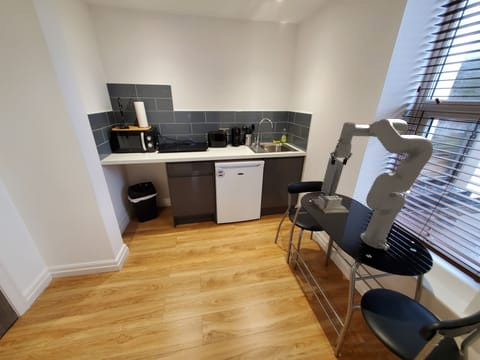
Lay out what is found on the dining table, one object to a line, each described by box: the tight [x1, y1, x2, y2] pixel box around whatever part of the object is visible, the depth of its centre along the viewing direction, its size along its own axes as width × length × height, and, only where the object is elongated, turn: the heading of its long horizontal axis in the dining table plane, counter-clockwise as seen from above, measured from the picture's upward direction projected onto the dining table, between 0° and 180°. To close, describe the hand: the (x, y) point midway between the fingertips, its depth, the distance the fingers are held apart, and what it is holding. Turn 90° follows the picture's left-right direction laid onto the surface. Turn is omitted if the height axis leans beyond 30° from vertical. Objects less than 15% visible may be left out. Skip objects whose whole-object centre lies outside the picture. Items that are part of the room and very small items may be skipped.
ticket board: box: [311, 198, 350, 215], centre depth 141 cm, size 19×19×1 cm
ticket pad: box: [317, 193, 334, 209], centre depth 139 cm, size 10×9×7 cm
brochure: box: [321, 157, 345, 196], centre depth 156 cm, size 14×6×30 cm, turn 179°
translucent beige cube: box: [329, 195, 343, 207], centre depth 141 cm, size 6×6×6 cm
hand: (338, 164), depth 136 cm, fingers open, 9 cm apart
